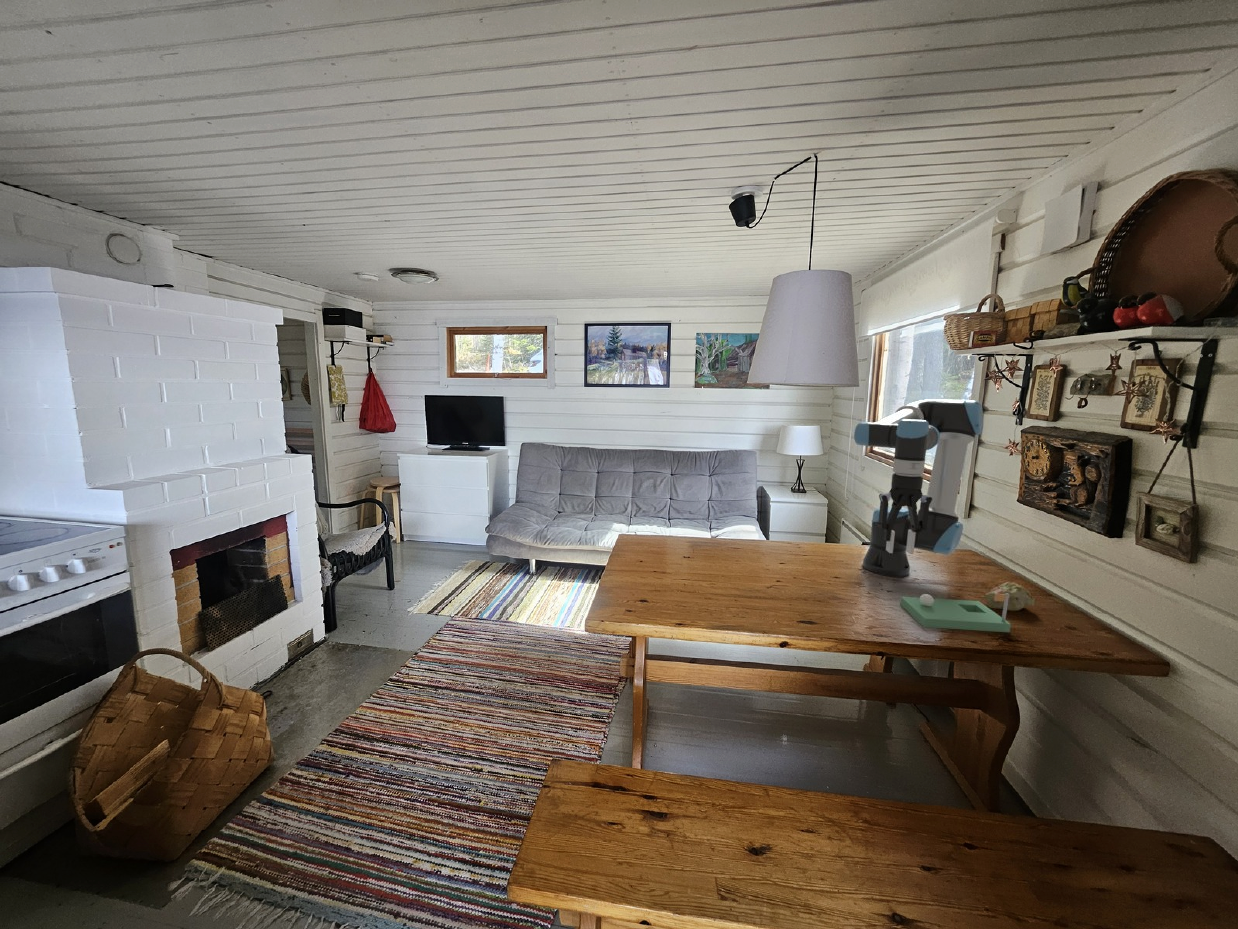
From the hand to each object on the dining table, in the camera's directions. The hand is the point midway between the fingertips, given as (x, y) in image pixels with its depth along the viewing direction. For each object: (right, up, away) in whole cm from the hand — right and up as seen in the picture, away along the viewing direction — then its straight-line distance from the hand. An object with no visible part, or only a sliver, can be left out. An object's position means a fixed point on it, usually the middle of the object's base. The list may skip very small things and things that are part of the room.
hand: (899, 551), depth 136 cm
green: (+15, -19, 0) cm, 24 cm away
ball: (+9, -15, +1) cm, 17 cm away
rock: (+37, -18, +8) cm, 42 cm away
